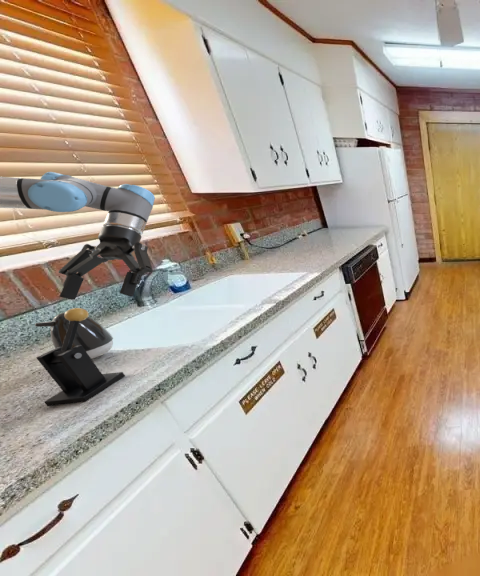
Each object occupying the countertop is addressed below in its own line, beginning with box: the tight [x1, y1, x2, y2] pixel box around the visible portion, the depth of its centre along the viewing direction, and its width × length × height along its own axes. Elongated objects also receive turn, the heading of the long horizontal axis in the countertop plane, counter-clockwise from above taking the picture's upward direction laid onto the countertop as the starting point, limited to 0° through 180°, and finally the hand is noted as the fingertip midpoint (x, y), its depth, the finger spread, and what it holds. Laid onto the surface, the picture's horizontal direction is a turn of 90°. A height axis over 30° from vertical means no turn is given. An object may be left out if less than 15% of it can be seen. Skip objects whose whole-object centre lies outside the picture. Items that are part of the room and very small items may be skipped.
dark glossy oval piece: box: [34, 311, 114, 360], centre depth 89 cm, size 10×10×15 cm
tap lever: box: [51, 307, 90, 363], centre depth 76 cm, size 14×4×4 cm
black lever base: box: [36, 345, 126, 407], centre depth 76 cm, size 10×8×13 cm
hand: (97, 296), depth 82 cm, fingers open, 13 cm apart
